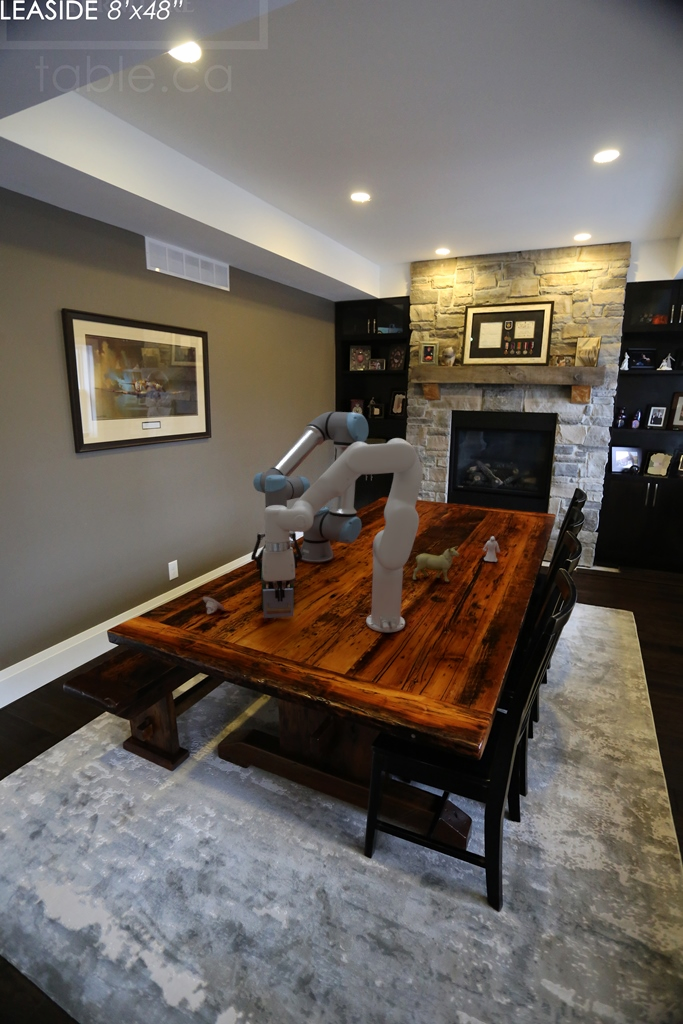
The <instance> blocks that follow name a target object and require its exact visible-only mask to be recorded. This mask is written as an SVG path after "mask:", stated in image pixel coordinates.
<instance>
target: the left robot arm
mask: <svg viewBox="0 0 683 1024" xmlns="http://www.w3.org/2000/svg"><path fill="white" fill-rule="evenodd" d="M369 431H370V430H369V424H368V421H367V419H366V417H365V416H364V415H363V414H361V413H358V412H352V411H351V412H350V411H349V412H346V411H344V412H343V411H327V412H324V413H322V414H320V415H319V416H317V417H315V418H314V419H313V420H311V421H310V422H309V423H308V424H307V425H306V426H305V427H304V428H303V433H302V434H301V435H300V436H299V437H298V438H297V439H296V440H295V441H294V442H293V443H292V444H291V445H290V447H288V448H287V450H286V451H285V452H283V454H282V455H281V456H280V457H279V458H277V460H276V461H275V462H274V463H273V464H272V466H271V467H270V468H269V469H267V471H266V472H264V471H263V472H259V473H257V474H255V475H254V478H253V482H252V483H253V487H254V489H255V490H256V491H257V492H259V493H262V494H264V498H265V499H264V501H265V507H264V509H265V508H266V507H268V506H272V505H282V506H285V507H287V508H288V502H287V501H290V500H295V499H299V498H300V497H301V496H302V495H303V494H304V493H305V492H306V491H307V490H308V489H309V488H310V487H311V484H310V481H309V480H308V478H306V477H305V476H295V477H294V476H291V475H292V474H293V473H294V472H295V471H296V469H297V468H299V466H300V465H301V464H302V463H303V461H304V460H305V459H306V458H307V457H308V456H309V455H310V454H311V453H312V452H313V451H314V449H316V447H317V446H321V445H322V444H323V443H324V442H326V441H333V446H334V447H335V449H336V455H335V456H336V457H335V461H336V460H337V459H338V458H339V456H340V455H341V454H342V453H343V452H344V451H345V450H346V449H347V448H348V447H349V446H350V445H351V444H353V443H355V442H364V443H366V441H367V439H368V436H369ZM355 492H356V480H355V481H354V483H353V484H352V485H351V486H350V487H349V488H348V489H347V490H346V491H345V492H344V493H343V494H342V495H340V496H338V497H335V498H333V503H332V506H331V507H328V506H323V507H322V508H321V509H320V510H319V511H318V512H317V513H316V515H315V516H314V520H313V525H312V527H311V528H310V529H309V530H307V531H304V532H302V534H303V535H302V544H301V547H300V546H299V544H298V541H297V534H296V533H297V532H295V531H291V532H289V534H290V540H292V541H294V545H293V546H294V548H295V550H296V552H295V551H294V550H293V554H294V562H295V569H298V560H300V561H301V562H303V563H306V564H314V565H315V564H316V565H317V564H327V563H329V562H332V561H333V559H334V552H333V548H332V545H331V542H330V541H333V542H339V543H340V544H352V543H354V542H355V541H356V540H357V539H358V537H359V536H360V533H361V531H362V526H363V525H362V524H363V523H362V521H361V518H359V516H357V515H358V511H357V510H356V508H355ZM264 538H265V532H263V533H261V532H257V533H256V541H255V545H254V548H253V551H252V553H251V556H250V557H251V558H250V559H251V561H255V563H256V564H255V565H256V570H257V571H259V579H260V580H261V576H262V559H263V550H264V549H265V548H266V544H264V545H263V547H262V549H261V550H260V552H259V553H258V551H259V547H260V545H261V540H263V539H264ZM257 553H258V555H257ZM296 553H297V554H296Z"/></svg>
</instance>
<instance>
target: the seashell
mask: <svg viewBox="0 0 683 1024" xmlns="http://www.w3.org/2000/svg"><path fill="white" fill-rule="evenodd" d="M202 600H203V602H204V603H205V608H206V614H207V615H211V614H213V613H215V612H216V611H217V610H222V611H225V610H226V608H225V606H224V605H223V604H221V602H219V601H218V600H216V599H214V598H212V597H209V596H203V597H202Z"/></svg>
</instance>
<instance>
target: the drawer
mask: <svg viewBox="0 0 683 1024" xmlns="http://www.w3.org/2000/svg"><path fill="white" fill-rule="evenodd" d="M281 583H282V581H277V584H278V586H279V590H280V586H281ZM284 591H285V598H283V602H281V601H279V602H278V598H275V590H274V588H273V587H271V586H270V585H266V589H263V609H262V610H263V619H272V618H273V619H275V618H293V617H294V608H293V588H290V584H289V585H288V586H287V587H286V588H285V589H284Z"/></svg>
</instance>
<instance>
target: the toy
mask: <svg viewBox="0 0 683 1024" xmlns="http://www.w3.org/2000/svg"><path fill="white" fill-rule="evenodd" d="M458 547H459V546H458V545H456V546H454V547H450V548H447V549H446V550H444V552H443V553H442V554H441V555H435V554H431V553H430V554H429V553H420V554H418V555H416V556H415V563H416V564H417V567H415V568H414V570H413V574H412V580H413V581H417V575H418V573H419V572H421V573H422V574H423V576H424V577H425V578H427V577H428V573H427V571H425V569H427V570H430V571H437V573H436V579H441V576H440V574H441V573H442V574H443V578H444V581H445V583H447V584H448V583H450V580H449V579H448V570H449V569H450V568H451V567H452V564H453V561H454V557H456V558H459V557H460V553H459V552H458V551H457V549H458Z"/></svg>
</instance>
